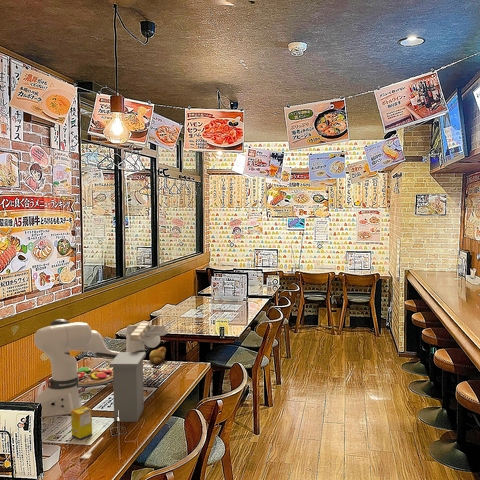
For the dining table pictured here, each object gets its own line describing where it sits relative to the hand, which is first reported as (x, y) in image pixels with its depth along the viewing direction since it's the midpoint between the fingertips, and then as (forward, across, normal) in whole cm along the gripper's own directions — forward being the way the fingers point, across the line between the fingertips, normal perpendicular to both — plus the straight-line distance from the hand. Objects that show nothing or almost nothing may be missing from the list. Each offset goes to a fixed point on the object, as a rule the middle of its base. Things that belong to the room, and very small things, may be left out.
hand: (144, 326), depth 262 cm
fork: (+42, +6, -62) cm, 75 cm away
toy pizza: (-30, +32, -21) cm, 49 cm away
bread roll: (-57, +2, -5) cm, 57 cm away
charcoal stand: (+15, 0, -46) cm, 48 cm away
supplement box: (+33, +14, -56) cm, 67 cm away
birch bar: (+7, 0, -6) cm, 9 cm away
